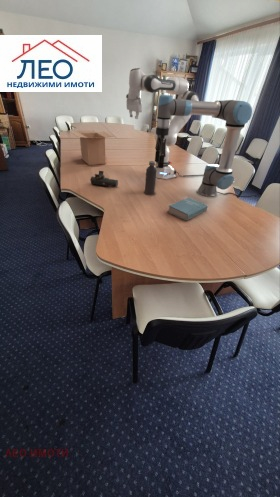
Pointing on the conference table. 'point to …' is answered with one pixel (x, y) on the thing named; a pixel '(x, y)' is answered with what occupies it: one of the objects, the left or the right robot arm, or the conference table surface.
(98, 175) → the laser sight
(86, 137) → the box
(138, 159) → the conference table surface
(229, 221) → the conference table surface
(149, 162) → the cap
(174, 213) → the book
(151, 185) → the bottle
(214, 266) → the conference table surface
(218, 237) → the conference table surface
